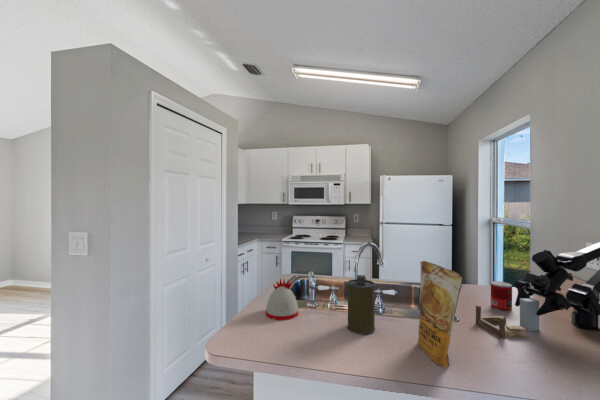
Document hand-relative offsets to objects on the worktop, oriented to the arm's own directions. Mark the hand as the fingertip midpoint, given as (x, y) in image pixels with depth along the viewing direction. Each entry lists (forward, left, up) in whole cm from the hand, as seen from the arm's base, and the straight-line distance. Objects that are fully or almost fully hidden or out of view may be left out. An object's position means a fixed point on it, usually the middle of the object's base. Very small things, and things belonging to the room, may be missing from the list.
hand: (526, 310), depth 110 cm
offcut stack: (+6, +8, -7) cm, 12 cm away
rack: (+8, +4, -7) cm, 11 cm away
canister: (+59, +23, -7) cm, 63 cm away
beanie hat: (+93, +21, -7) cm, 95 cm away
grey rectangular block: (-1, -1, -7) cm, 7 cm away
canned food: (+3, -22, -7) cm, 23 cm away
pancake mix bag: (+34, +33, -7) cm, 48 cm away
